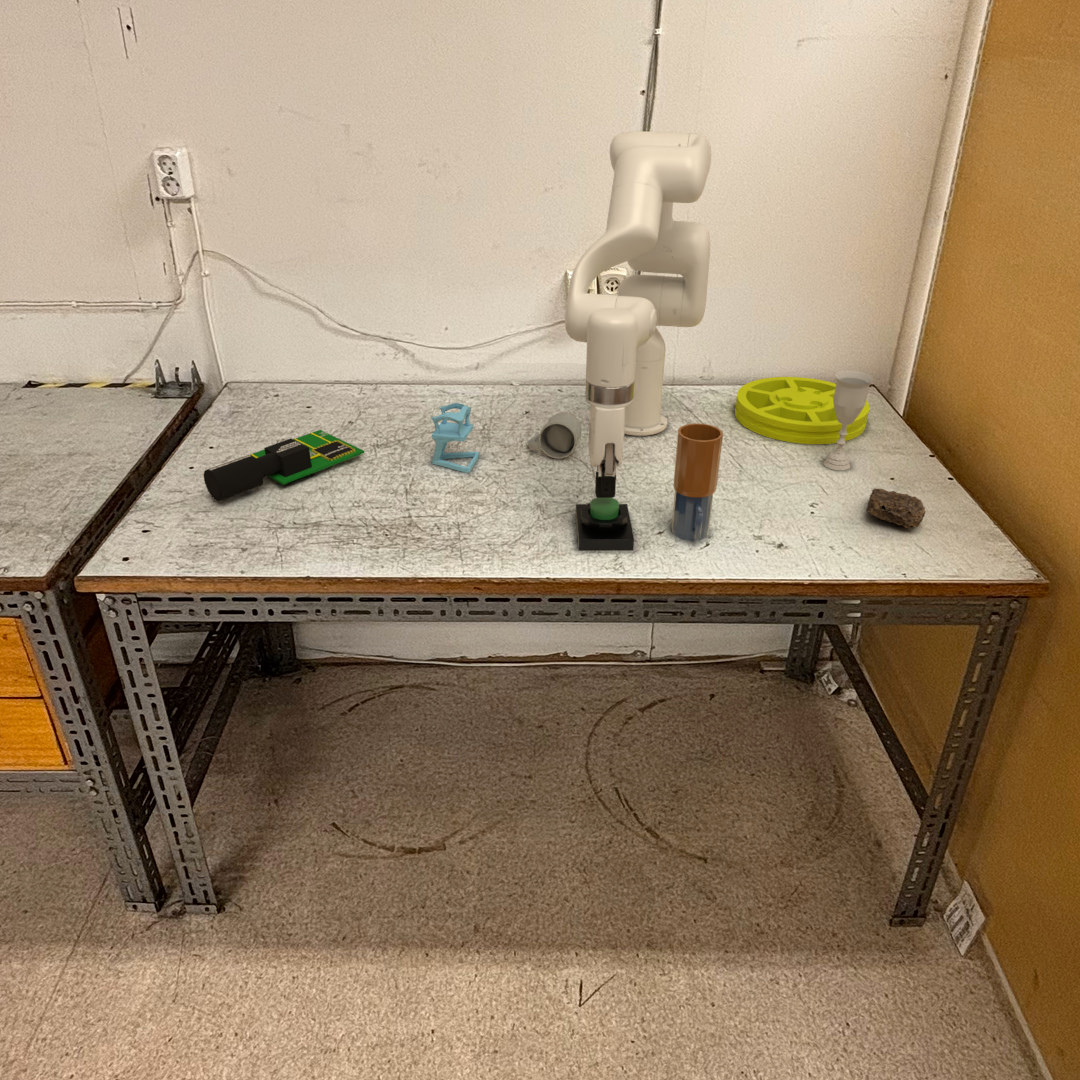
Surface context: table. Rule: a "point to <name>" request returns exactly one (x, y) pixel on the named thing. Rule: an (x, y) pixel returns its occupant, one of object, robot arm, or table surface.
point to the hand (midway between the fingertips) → (604, 495)
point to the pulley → (794, 410)
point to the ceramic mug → (558, 436)
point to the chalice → (847, 410)
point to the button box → (604, 531)
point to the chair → (452, 436)
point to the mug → (691, 517)
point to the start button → (604, 508)
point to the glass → (697, 460)
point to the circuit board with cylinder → (278, 464)
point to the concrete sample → (896, 508)
